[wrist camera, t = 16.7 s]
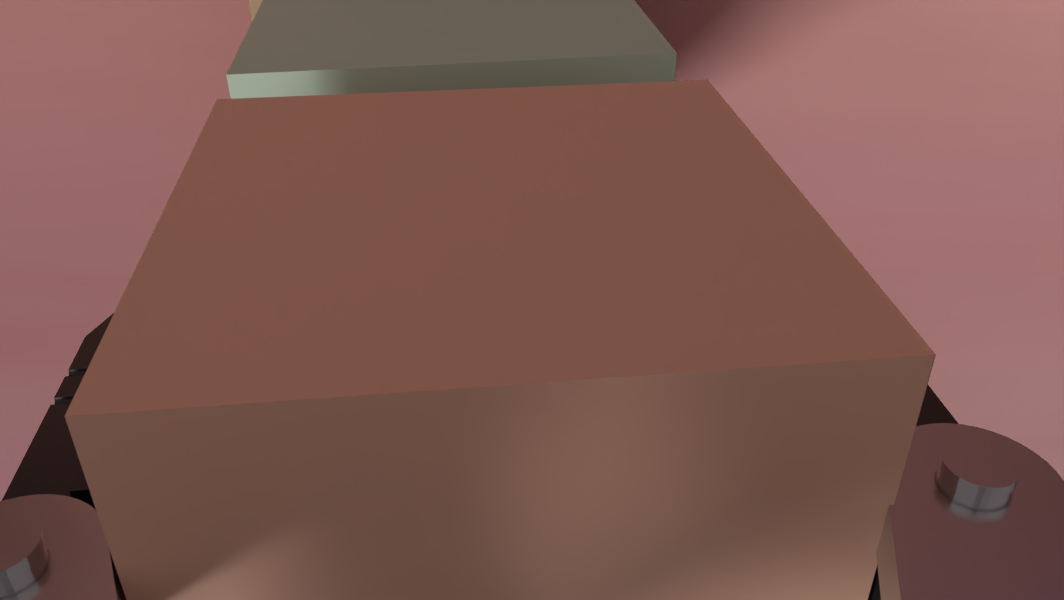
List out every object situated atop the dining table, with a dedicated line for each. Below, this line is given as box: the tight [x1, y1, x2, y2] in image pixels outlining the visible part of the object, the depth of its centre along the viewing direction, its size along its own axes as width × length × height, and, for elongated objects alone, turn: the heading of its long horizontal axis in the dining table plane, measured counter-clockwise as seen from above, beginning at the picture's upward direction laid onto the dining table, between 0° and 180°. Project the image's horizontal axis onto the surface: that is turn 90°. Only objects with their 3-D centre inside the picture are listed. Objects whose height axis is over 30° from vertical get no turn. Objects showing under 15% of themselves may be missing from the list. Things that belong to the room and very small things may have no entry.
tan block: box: [65, 80, 936, 600], centre depth 9 cm, size 5×5×5 cm
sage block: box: [226, 0, 677, 99], centre depth 14 cm, size 5×5×5 cm
